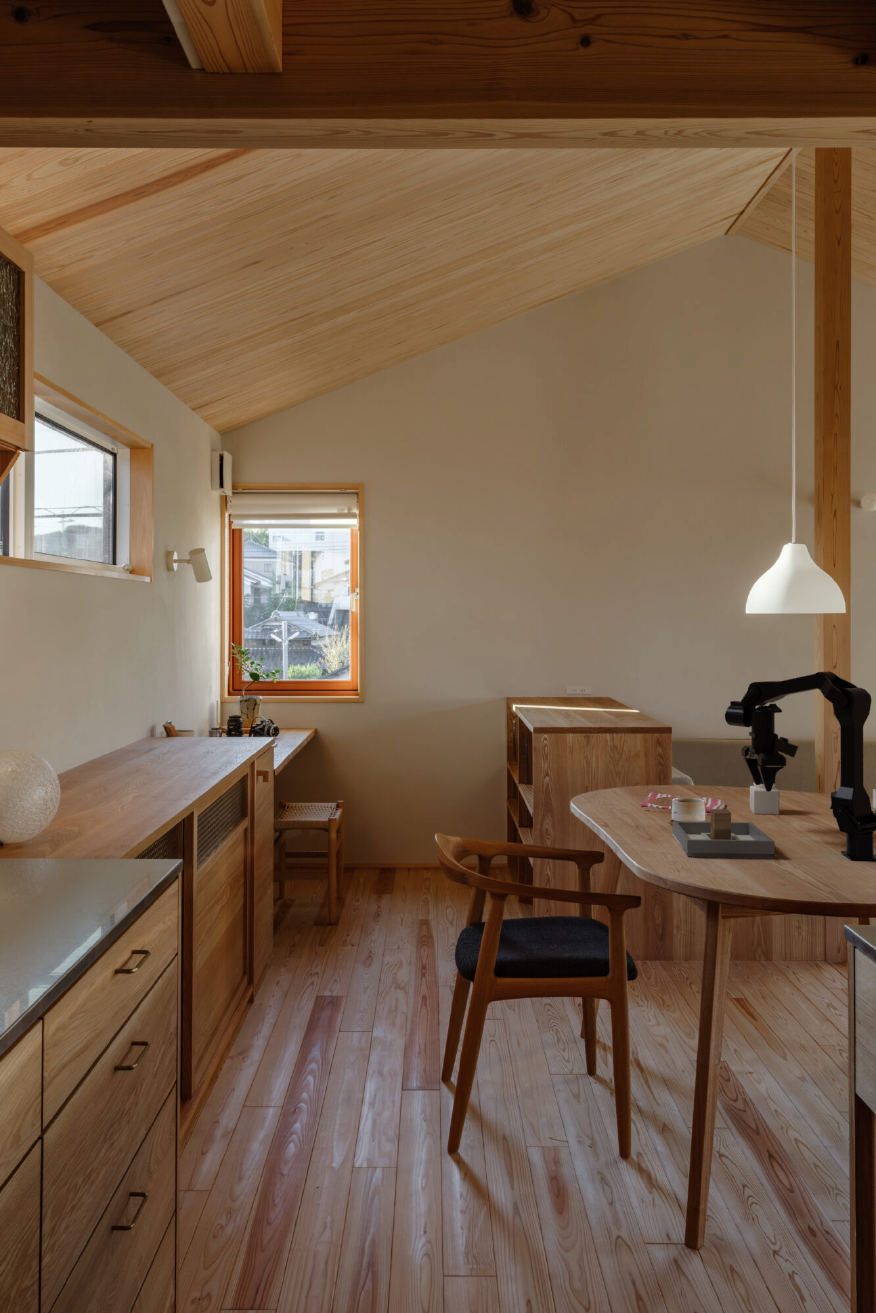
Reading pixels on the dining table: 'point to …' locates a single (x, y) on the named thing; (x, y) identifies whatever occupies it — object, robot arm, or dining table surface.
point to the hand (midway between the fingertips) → (763, 788)
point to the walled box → (723, 841)
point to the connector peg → (720, 824)
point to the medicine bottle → (764, 799)
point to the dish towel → (709, 802)
